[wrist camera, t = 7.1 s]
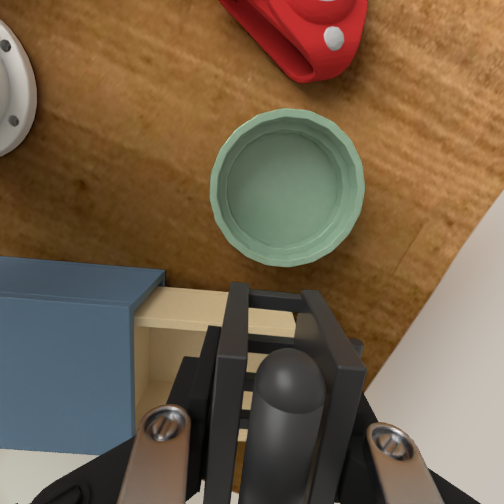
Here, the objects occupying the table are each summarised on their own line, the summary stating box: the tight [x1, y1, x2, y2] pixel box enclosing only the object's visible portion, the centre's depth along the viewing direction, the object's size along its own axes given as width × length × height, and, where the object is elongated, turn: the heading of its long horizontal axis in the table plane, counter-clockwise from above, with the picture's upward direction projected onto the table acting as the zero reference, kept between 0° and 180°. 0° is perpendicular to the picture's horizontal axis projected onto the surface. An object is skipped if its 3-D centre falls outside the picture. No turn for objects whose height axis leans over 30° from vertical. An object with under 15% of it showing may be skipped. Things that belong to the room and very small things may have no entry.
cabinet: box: [0, 256, 165, 455], centre depth 26 cm, size 18×14×9 cm
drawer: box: [134, 286, 364, 441], centre depth 26 cm, size 21×12×7 cm, turn 85°
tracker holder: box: [219, 0, 368, 83], centre depth 22 cm, size 12×4×10 cm
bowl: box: [210, 108, 365, 267], centre depth 24 cm, size 12×12×4 cm
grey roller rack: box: [203, 282, 367, 504], centre depth 9 cm, size 7×3×6 cm, turn 174°
